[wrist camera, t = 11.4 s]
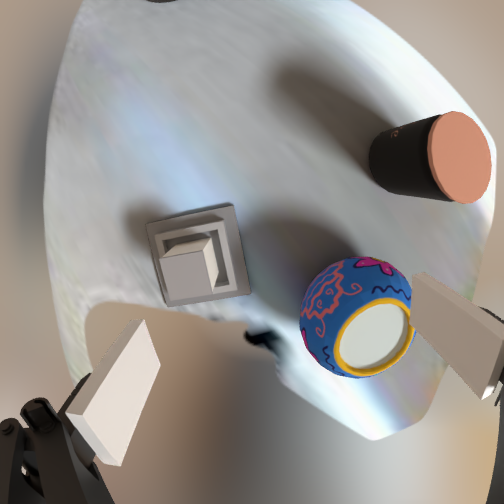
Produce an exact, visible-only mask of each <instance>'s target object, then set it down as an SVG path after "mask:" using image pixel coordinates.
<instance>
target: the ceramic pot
mask: <svg viewBox="0 0 504 504" xmlns="http://www.w3.org/2000/svg"><path fill="white" fill-rule="evenodd" d="M411 294H412V289H411V287H410V285H409V283H408V281H407V280H406V278H405V277H404V276H403V275H402V273H401V272H399V271H398V270H397V269H396V268H394V267H393V266H392V265H391V264H389V263H388V262H385V261H382V260H379V259H376V258H373V257H349V258H346V259H344V260H341V261H339V262H336V263H334V264H331V265H329V266H328V267H327V268H326V269H324V270H323V271H322V272H320V273H319V274H318V275H317V276H316V277H315V278H314V280H313V281H312V282H311V284H310V285H309V287H308V288H307V291H306V293H305V295H304V298H303V300H302V303H301V313H300V331H301V334H302V337H303V340H304V343H305V346H306V348H307V350H308V351H309V352H310V354H311V355H312V356H313V357H314V358H315V360H316V361H317V362H318V363H319V364H320V365H321V366H323V367H324V368H326V369H327V370H329V371H331V372H332V373H334V374H337V375H339V376H345V377H350V378H365V377H371V376H375V375H377V374H379V373H382V372H384V371H385V370H387V369H388V368H390V367H391V366H393V365H395V364H396V363H397V362H398V361H399V360H400V359H401V358H402V357H403V356H404V354H405V353H406V352H407V350H408V349H409V347H410V346H411V343H412V341H413V339H414V337H415V334H416V330H415V329H414V328H413V327H412V326H411V325H410V324H409V320H410V309H411Z"/></svg>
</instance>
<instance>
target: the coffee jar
mask: <svg viewBox="0 0 504 504" xmlns="http://www.w3.org/2000/svg"><path fill="white" fill-rule="evenodd" d="M369 162H370V169H371V171H372V174H373V176H374V178H375V179H376V181H377V182H378V183H379V185H380V186H381V187H383V188H384V189H385V190H387V191H388V192H391V193H394V194H398V195H406V196H414V197H421V198H429V199H435V200H442V201H448V202H452V201H457V202H459V203H462V204H466V203H473V202H475V201H476V200H478V199H479V198H481V196H482V195H483V194H484V192H485V191H486V189H487V187H488V184H489V181H490V176H491V166H492V165H491V155H490V150H489V147H488V143H487V140H486V138H485V136H484V134H483V132H482V131H481V129H480V127H479V126H478V125H477V124H476V123H475V122H474V120H473V119H472V118H470V117H468V116H467V115H465V114H464V113H461V112H455V111H451V112H448V113H445V114H443V115H436V116H433V117H429V118H426V119H422V120H419V121H416V122H412V123H409V124H406V125H403V126H400V127H396V128H393V129H390V130H387V131H385V132H382V133H381V134H380V135H378V136H377V137H376V138H375V140H374V142H373V144H372V146H371V148H370V154H369Z"/></svg>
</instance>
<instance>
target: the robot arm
mask: <svg viewBox="0 0 504 504" xmlns="http://www.w3.org/2000/svg"><path fill="white" fill-rule="evenodd" d="M148 1H152V2H171V1H176V0H148ZM409 324H410V325H411V326H412V327H413V328H414V329H415V330H416V331H417V332H418V333H419V334H420V335H421V336H422V337H423V338H424V339H425V340H426V341H427V342H428V343H429V344H430V345H431V346H432V347H433V348H434V349H435V350H436V351H437V352H438V354H439V355H440V356H441V357H442V358H443V359H444V360H445V361H446V362H447V363H448V364H449V365H450V366H451V367H452V368H453V369H454V370H455V372H456V373H457V374H458V375H459V376H460V377H461V378H462V379H463V380H464V382H465V383H466V384H467V385H468V386H469V387H470V388H471V389H472V390H473V392H474V393H475V394H476V395H477V396H478V397H479V398H480V400H482V399H484V398H485V397H487V396H489V395H490V394H492V393H494V391H495V388H496V386H497V384H498V381H500V382H501V383H502V384H503V386H502V388H501V391H500V393H499V395H498V397H497V400H496V402H495V406H497V404H498V402H499V400H500V423H499V435H498V444H497V451H496V458H495V465H494V471H493V475H492V480H491V485H490V490H489V494H488V498H487V501H486V504H504V320H501V318H499V317H498V316H495V314H494V313H492V312H491V311H489V310H487V309H484V308H481V307H479V306H477V305H475V304H474V303H472V302H471V301H469V300H468V299H466V298H465V297H463V296H461V295H460V294H458V293H457V292H455V291H454V290H452V289H451V288H449V287H447V286H446V285H444V284H443V283H441V282H439V281H438V280H436V279H435V278H433V277H431V276H430V275H428V274H426V273H425V272H423V273H419V274H415V275H412V294H411V309H410V320H409ZM160 366H161V365H160V362H159V360H158V357H157V355H156V352H155V349H154V346H153V344H152V341H151V338H150V335H149V332H148V330H147V327H146V324H145V321H144V319H141V320H130V322H129V323H128V324H127V326H126V327H125V328H124V330H123V331H122V332H121V334H120V335H119V336H118V338H117V339H116V340H115V342H114V343H113V344H112V346H111V347H110V348H109V350H108V351H107V353H106V354H105V355H104V357H103V358H102V359H101V361H100V362H99V364H98V365H97V367H96V368H95V369H94V371H93V372H92V373H89V374H87V375H86V376H85V377H84V378H82V379H81V380H80V382H79V383H78V384H77V386H76V387H75V388H76V389H74V390H73V392H72V393H71V395H70V396H69V397H68V399H67V400H66V402H65V403H64V404H63V406H62V407H61V409H60V410H59V412H58V413H56V412H55V410H54V409H53V407H52V406H51V404H50V403H49V401H48V400H47V399H45V398H35V399H33V400H30V401H28V402H27V403H26V404H25V405H24V406H23V408H22V409H21V412H20V415H21V417H22V418H23V419H24V421H25V422H26V423H27V425H28V426H29V428H23V427H22V426H21V424H20V423H19V421H18V420H17V419H15V418H8V419H5V420H4V421H2V422H1V423H0V504H115V503H114V501H113V499H112V497H111V495H110V493H109V491H108V489H107V487H106V485H105V483H104V481H103V479H102V476H101V474H100V472H99V470H98V467H97V466H96V464H95V463H94V462H93V459H94V456H95V454H96V455H97V456H98V457H99V459H100V460H101V461H102V462H103V463H105V464H110V465H116V466H121V463H122V461H123V458H124V455H125V453H126V450H127V447H128V445H129V442H130V440H131V437H132V434H133V432H134V429H135V427H136V424H137V422H138V419H139V417H140V414H141V412H142V409H143V407H144V404H145V402H146V399H147V397H148V394H149V392H150V390H151V387H152V385H153V382H154V380H155V377H156V375H157V373H158V370H159V368H160ZM22 466H23V467H24V469H25V470H26V475H24V474H23V473H22V470H21V468H22Z"/></svg>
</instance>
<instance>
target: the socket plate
mask: <svg viewBox="0 0 504 504" xmlns="http://www.w3.org/2000/svg"><path fill="white" fill-rule="evenodd" d="M145 225H146V230H147V234H148V238H149V242H150V246H151V250H152V254H153V258H154V262H155V265H156V269H157V273H158V276H159V280H160V284H161V287H162V290H163V294H164V297H165V301H166V304H167V307H174V306H180V305H187V304H194V303H200V302H206V301H213V300H219V299H225V298H231V297H237V296H242V295H248V294H251V290H250V285H249V280H248V275H247V270H246V265H245V260H244V255H243V250H242V245H241V239H240V234H239V229H238V224H237V219H236V214H235V209H234V205H232V206H227V207H222V208H217V209H212V210H207V211H202V212H197V213H193V214H188V215H183V216H179V217H174V218H170V219H165V220H161V221H157V222H152V223H148V224H145ZM206 238H211V239H212V244H213V248H214V253H215V258H216V262H217V267H218V271H219V273H218V276H217V279H216V282H215V285H214V289H213V294H211V295H205V296H198V297H192V298H185V299H178V300H172V301H170V298H169V294H168V291H167V287H166V283H165V280H164V276H163V272H162V269H161V265H160V261H159V259H160V258H162V257H163V256H164V255H165V254H166V253H167V252H168V251H169V250H170V249H172V248H173V247H174V246H175V245H176V244H179V243H185V242H190V241H195V240H200V239H206Z"/></svg>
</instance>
